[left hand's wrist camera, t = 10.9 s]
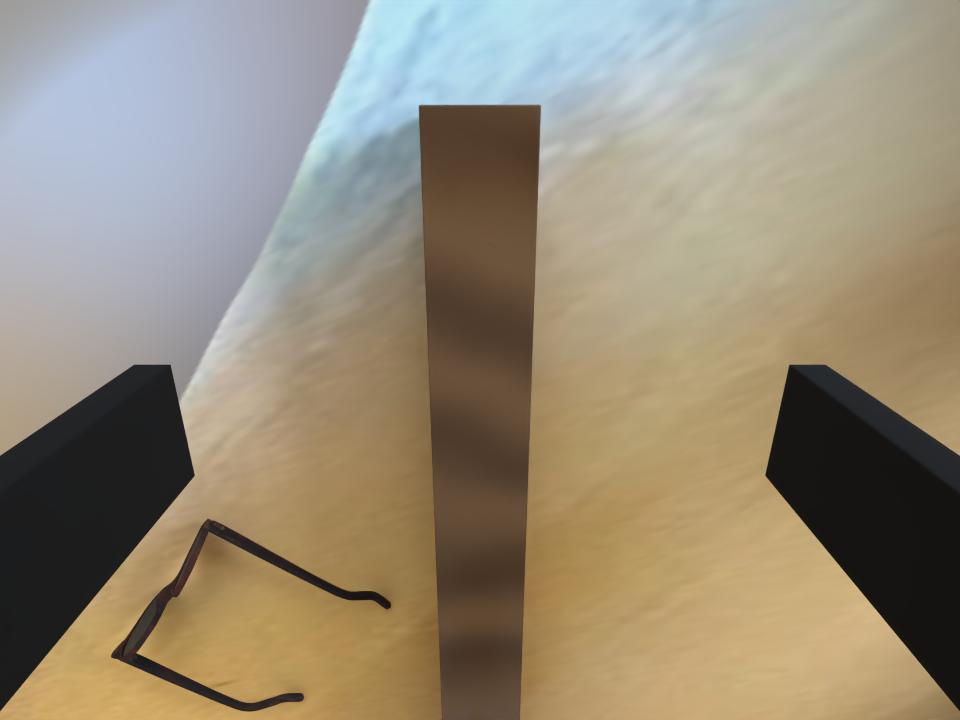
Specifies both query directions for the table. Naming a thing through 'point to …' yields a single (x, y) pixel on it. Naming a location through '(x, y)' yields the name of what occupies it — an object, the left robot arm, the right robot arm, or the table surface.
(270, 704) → the eyeglasses
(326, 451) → the table surface
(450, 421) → the post
